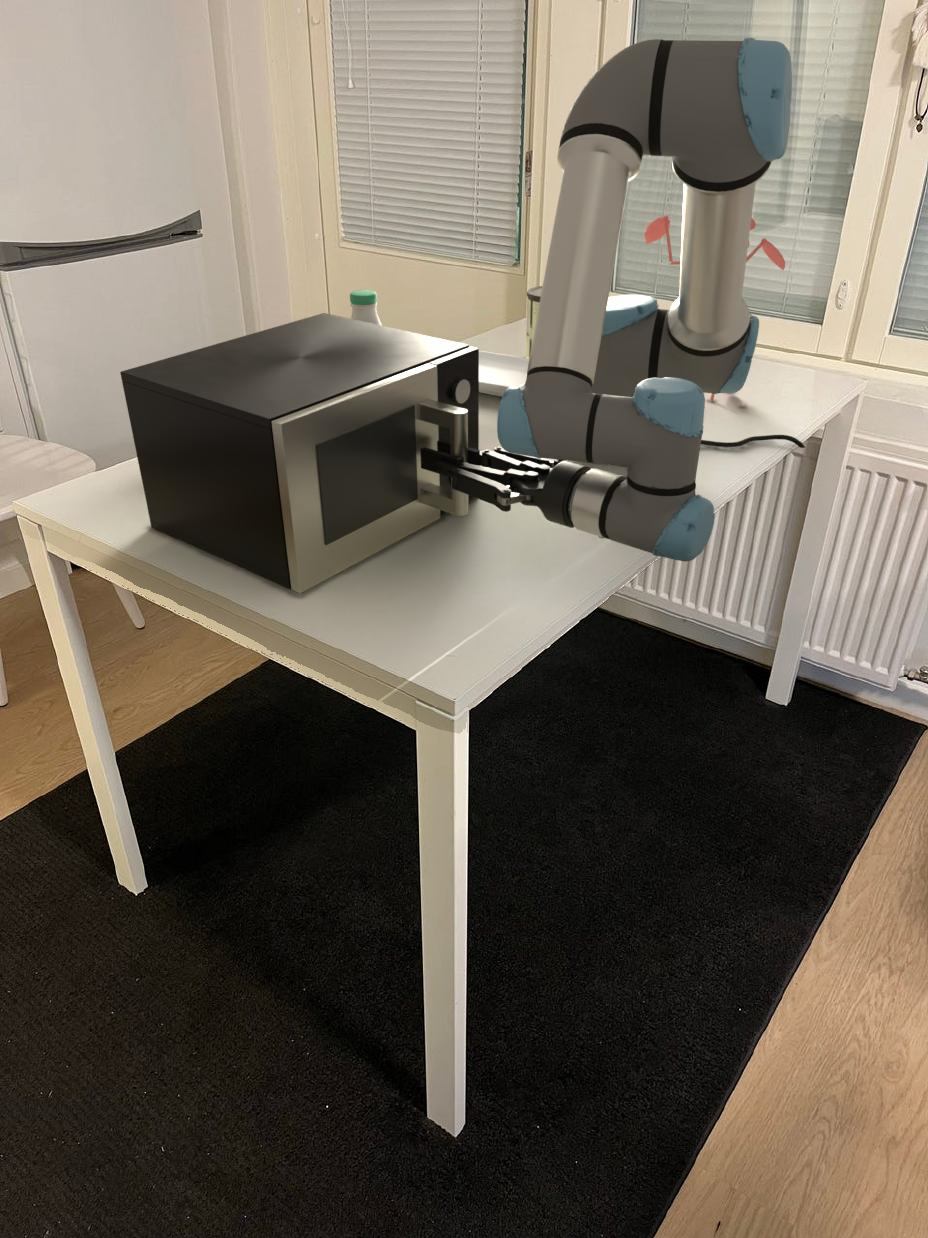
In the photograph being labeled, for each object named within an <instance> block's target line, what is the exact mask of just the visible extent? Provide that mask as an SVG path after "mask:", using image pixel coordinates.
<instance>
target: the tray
mask: <svg viewBox="0 0 928 1238" xmlns="http://www.w3.org/2000/svg"><path fill="white" fill-rule="evenodd" d="M528 364H529V358H526V357H525V356H517V355H512V354H511V355H510V354H505V353H504V354H503V353H498V352H490V351H485V350H480V349H479V393H480V394H481V393H482V394H485V395H491V396H498V397H502V396H503V393H504V392H505V390H506V389H507V388H509V387H511V386H519V385H523V386H524V385H525V382H526V378H527V369H528Z"/></svg>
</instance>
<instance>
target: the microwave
mask: <svg viewBox="0 0 928 1238" xmlns="http://www.w3.org/2000/svg"><path fill="white" fill-rule="evenodd" d="M479 348H480V347H479ZM479 348H478V347H474V346H470V344H467V343H463V342H459V341H453V340H448V339H444V338H439V337H435V336H431V335H426V334H422V333H417V332H413V331H408V330H403V329H399V328H395V327H389V326H386V325H382V326H381V325H377V324H372V323H368V322H363V321H359V320H354V319H351V317H350V318H349V317H344V316H341V315H335V314H331V313H327V312H323V313H319V314H316V315H312V316H309V317H304V318H302V319H298V320H294V321H292V322H287V323H284V324H281V325H278V326H274V327H271V328H267V329H264V330H260V331H257V332H252V333H249V334H247V335H243V336H239V337H236V338H232V339H228V340H226V341H222V342H218V343H216V344H212V345H208V346H204V347H201V348H197V349H194V350H190V351H188V352H184V353H180V354H176V355H174V356H170V357H166V358H162V359H160V360H156V361H153V362H149V363H145V364H143V365H139V366H135V367H132V368H129V369H125V370H123V371H122V370H121V371H120V373H119V374H120V378H121V379H120V380H121V383H122V388H123V393H124V399H125V404H126V409H127V413H128V418H129V424H130V429H131V432H132V433H131V434H132V438H133V443H134V449H135V452H136V458H137V463H138V467H139V472H140V478H141V483H142V487H143V492H144V497H145V503H146V508H147V512H148V517H149V522H150V527H151V529H153V530H156V531H158V532H160V533H162V534H165V535H167V536H168V537H171V538H173V539H175V540H178V541H181V542H183V543H185V544H187V545H190V546H192V547H193V548H196V549H198V550H201V551H203V552H206V553H208V554H209V555H212V556H214V557H216V558H218V559H221V560H223V561H225V562H228V563H230V564H232V565H234V566H236V567H239V568H240V569H243V570H245V571H247V572H250V573H252V574H254V575H256V576H258V577H261V578H262V579H265V580H268V581H269V582H272V583H274V584H276V585H278V586H281V587H282V588H285V589H287V590H289V591H290V590H292V589H291V581H290V573H289V564H288V556H287V548H286V539H285V531H284V522H283V514H282V506H281V497H280V489H279V481H278V472H277V464H276V455H275V447H274V439H273V430H272V421H273V420H276V419H279V418H282V417H284V416H287V415H290V414H292V413H295V412H298V411H300V410H303V409H306V408H309V407H311V406H314V405H317V404H319V403H322V402H325V401H328V400H330V399H333V398H336V397H338V396H341V395H344V394H347V393H349V392H352V391H355V390H357V389H360V388H363V387H366V386H368V385H371V384H374V383H376V382H379V381H382V380H385V379H387V378H390V377H393V376H395V375H398V374H401V373H404V372H406V371H409V370H412V369H414V368H417V367H420V366H423V365H425V364H432V365H436V366H437V386H438V402H442V403H445V404H449V405H453V406H456V407H460V408H464V409H467V410H468V447H469V448H473V449H477V450H480V448H479V444H480V442H479V441H480V439H479V438H480V436H479V434H480V433H479V432H480V431H479V430H480V429H479V428H480V427H479V425H480V422H479V421H480V420H479V419H480V418H479V417H480V416H479V415H480V412H479V411H480V410H479V409H480V406H479V404H480V402H479V401H480V395H479V394H480V392H479V350H480V349H479ZM438 432H439V440H444V441H448V442H451V429H449V428H446V427H442V426H439V425H438ZM439 478H440V486H441V487H444V488H447V489H450V490H451V477H448V476H445V475H441V474H439ZM471 499H474V497H473V496H470V495H468V501H470V500H471ZM446 513H447V512H445V511H442V510H440V516H442V515H444V514H446Z"/></svg>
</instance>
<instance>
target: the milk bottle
mask: <svg viewBox="0 0 928 1238" xmlns="http://www.w3.org/2000/svg"><path fill="white" fill-rule="evenodd" d="M349 301H350V307H351V308H352V309H351V317H350V319H354V320H359V321H363V322H368V323H372V324H377V325H381V326H383V324H382V322H381V320H380V318H379V315H378V311H377V306H378V294H377V292H376V291H375V290H370V289H359V290H354V291H351V292H350V294H349Z"/></svg>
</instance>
